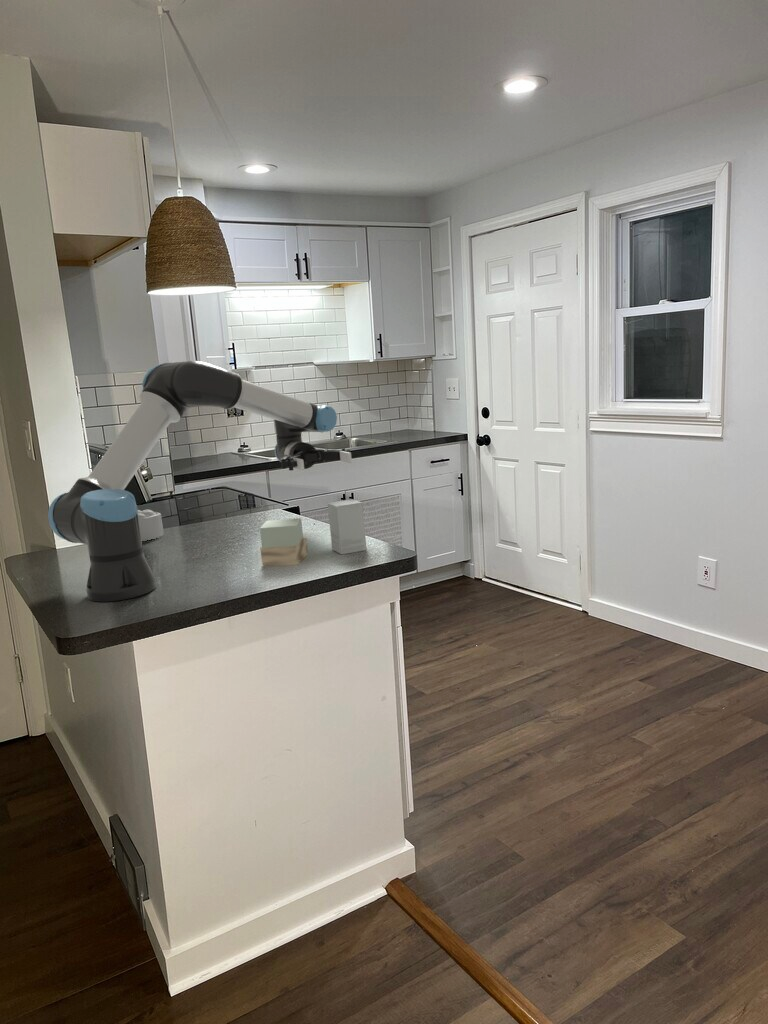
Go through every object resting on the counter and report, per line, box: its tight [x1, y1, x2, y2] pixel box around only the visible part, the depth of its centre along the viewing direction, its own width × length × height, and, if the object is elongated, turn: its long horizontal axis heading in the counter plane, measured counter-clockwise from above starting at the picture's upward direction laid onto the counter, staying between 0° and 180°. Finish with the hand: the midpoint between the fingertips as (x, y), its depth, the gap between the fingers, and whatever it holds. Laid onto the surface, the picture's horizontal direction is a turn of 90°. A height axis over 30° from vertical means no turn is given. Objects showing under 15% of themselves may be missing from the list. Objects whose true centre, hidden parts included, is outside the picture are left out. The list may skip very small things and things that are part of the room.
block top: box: [259, 517, 304, 548], centre depth 191 cm, size 9×9×5 cm
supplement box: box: [327, 498, 367, 555], centre depth 197 cm, size 7×7×13 cm
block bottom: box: [260, 537, 309, 566], centre depth 192 cm, size 9×9×5 cm
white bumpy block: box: [138, 509, 165, 541], centre depth 233 cm, size 10×13×9 cm
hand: (326, 461), depth 202 cm, fingers open, 13 cm apart
